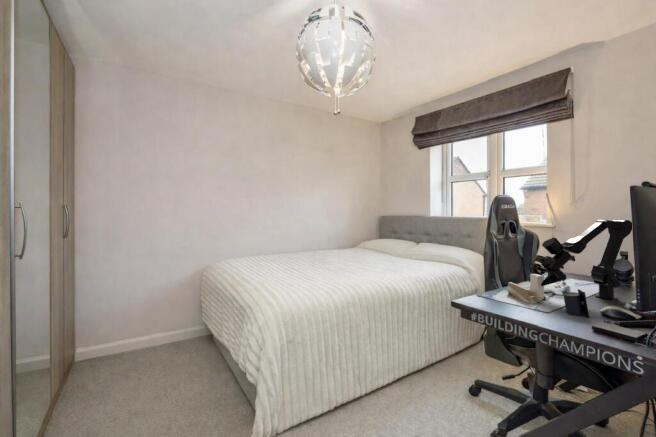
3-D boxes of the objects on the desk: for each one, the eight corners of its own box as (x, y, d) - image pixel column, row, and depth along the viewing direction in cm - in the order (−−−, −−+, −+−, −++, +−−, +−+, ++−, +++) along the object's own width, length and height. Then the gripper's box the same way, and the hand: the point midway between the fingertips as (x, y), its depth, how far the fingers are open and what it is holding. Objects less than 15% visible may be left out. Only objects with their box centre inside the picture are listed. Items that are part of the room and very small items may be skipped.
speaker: (588, 313, 124) (585, 288, 124) (589, 318, 120) (586, 292, 120) (565, 311, 129) (562, 287, 129) (565, 315, 125) (562, 291, 125)
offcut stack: (524, 295, 153) (524, 286, 153) (537, 301, 143) (537, 292, 143) (516, 295, 153) (516, 286, 153) (528, 301, 143) (528, 292, 143)
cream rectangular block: (536, 296, 150) (536, 273, 150) (543, 299, 145) (543, 276, 144) (530, 296, 150) (530, 273, 150) (537, 299, 145) (537, 276, 144)
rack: (531, 293, 155) (531, 282, 155) (552, 302, 139) (553, 290, 139) (508, 293, 156) (508, 282, 156) (527, 302, 140) (527, 290, 140)
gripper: (534, 247, 156) (512, 268, 157) (560, 252, 137) (535, 275, 138) (549, 262, 156) (527, 283, 157) (577, 269, 137) (552, 292, 138)
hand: (535, 283), depth 147 cm, fingers open, 9 cm apart
